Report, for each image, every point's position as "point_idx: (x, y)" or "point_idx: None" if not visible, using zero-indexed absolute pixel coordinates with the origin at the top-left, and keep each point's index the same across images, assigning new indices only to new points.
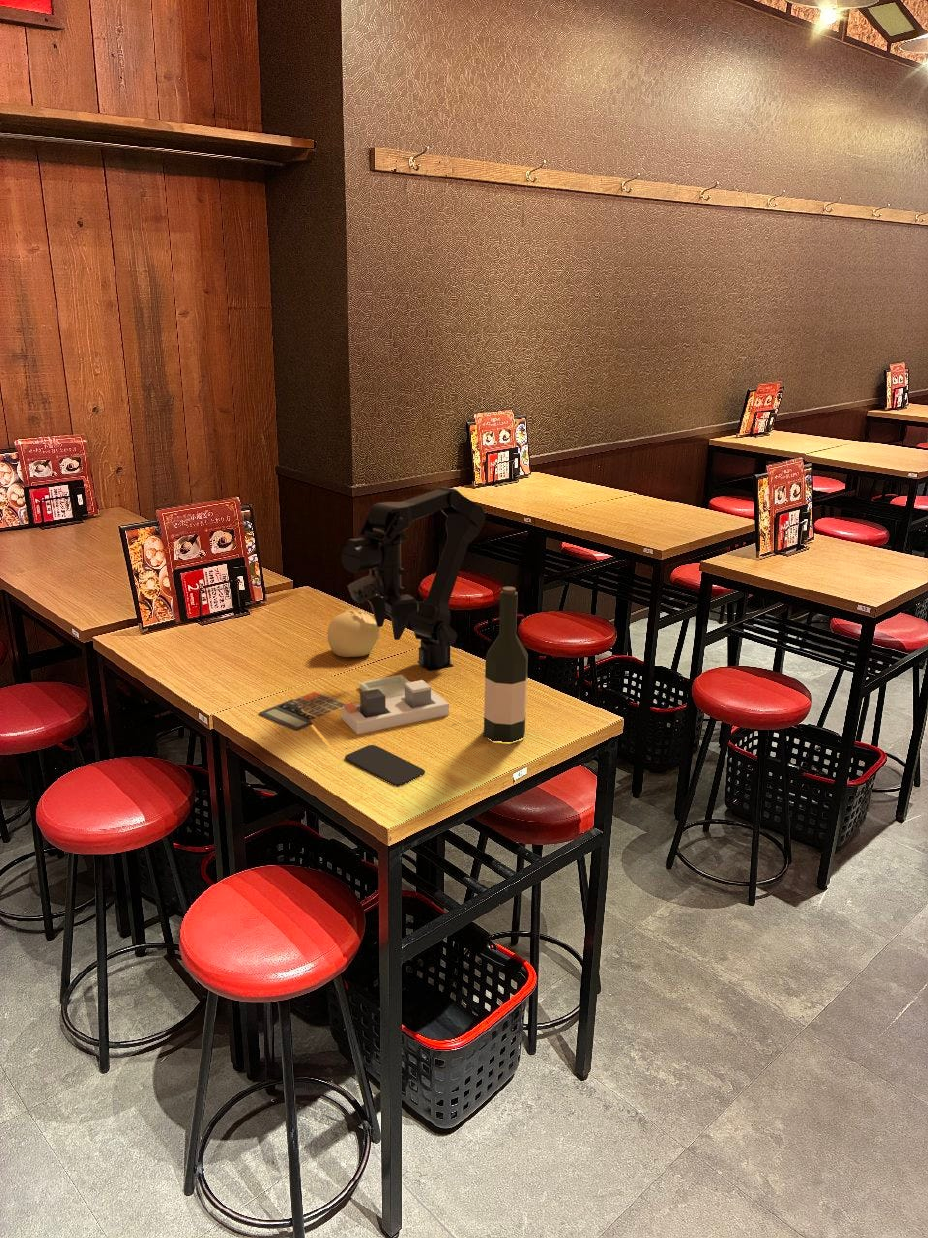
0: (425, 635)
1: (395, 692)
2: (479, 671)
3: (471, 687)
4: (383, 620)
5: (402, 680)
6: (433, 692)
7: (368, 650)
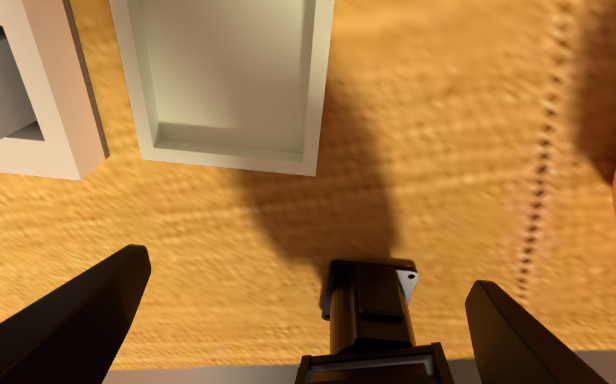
0: (348, 374)
1: (213, 88)
2: (270, 338)
3: (183, 284)
4: (476, 354)
5: (275, 156)
6: (50, 172)
7: (613, 192)
